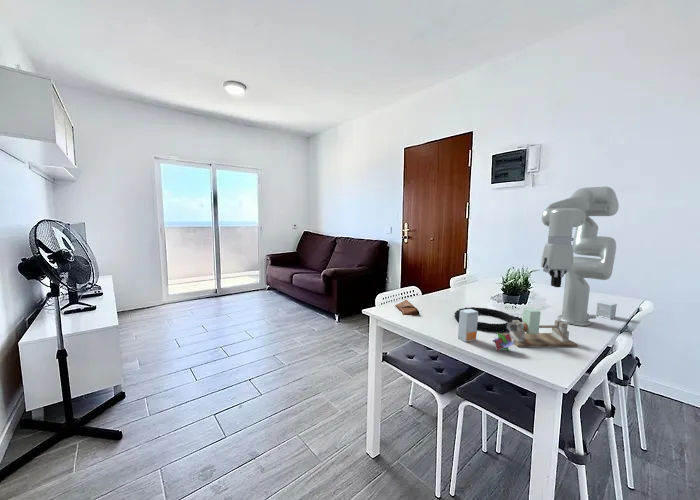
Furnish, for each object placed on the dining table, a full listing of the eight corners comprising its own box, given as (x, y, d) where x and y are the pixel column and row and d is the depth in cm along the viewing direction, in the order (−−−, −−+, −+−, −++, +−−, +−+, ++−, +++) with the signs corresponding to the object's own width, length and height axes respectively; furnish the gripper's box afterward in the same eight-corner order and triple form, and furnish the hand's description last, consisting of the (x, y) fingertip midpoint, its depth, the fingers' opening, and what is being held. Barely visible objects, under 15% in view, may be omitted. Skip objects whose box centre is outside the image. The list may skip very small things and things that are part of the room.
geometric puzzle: (497, 350, 106) (510, 331, 106) (484, 342, 112) (496, 325, 113) (510, 359, 107) (522, 342, 108) (496, 351, 114) (508, 334, 114)
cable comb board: (556, 335, 125) (558, 317, 124) (577, 346, 114) (579, 326, 114) (500, 335, 124) (501, 317, 123) (516, 347, 113) (517, 327, 112)
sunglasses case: (392, 305, 165) (399, 295, 165) (403, 311, 166) (409, 301, 166) (403, 316, 147) (410, 304, 147) (414, 322, 148) (421, 311, 148)
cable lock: (450, 304, 157) (512, 308, 151) (450, 311, 157) (511, 315, 151) (459, 322, 130) (534, 328, 124) (458, 330, 130) (533, 336, 124)
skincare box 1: (465, 342, 117) (467, 313, 115) (457, 338, 120) (459, 310, 119) (476, 340, 119) (478, 311, 118) (468, 336, 123) (470, 308, 122)
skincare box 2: (595, 315, 152) (596, 302, 151) (600, 314, 155) (602, 300, 154) (610, 319, 147) (612, 305, 146) (615, 317, 150) (617, 303, 149)
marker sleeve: (531, 329, 121) (533, 308, 120) (538, 334, 117) (540, 311, 116) (521, 329, 121) (523, 308, 120) (528, 334, 116) (530, 311, 115)
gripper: (570, 239, 119) (566, 283, 122) (534, 240, 118) (531, 284, 121) (585, 241, 112) (581, 288, 114) (547, 242, 111) (544, 289, 114)
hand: (555, 286), depth 118 cm, fingers closed
